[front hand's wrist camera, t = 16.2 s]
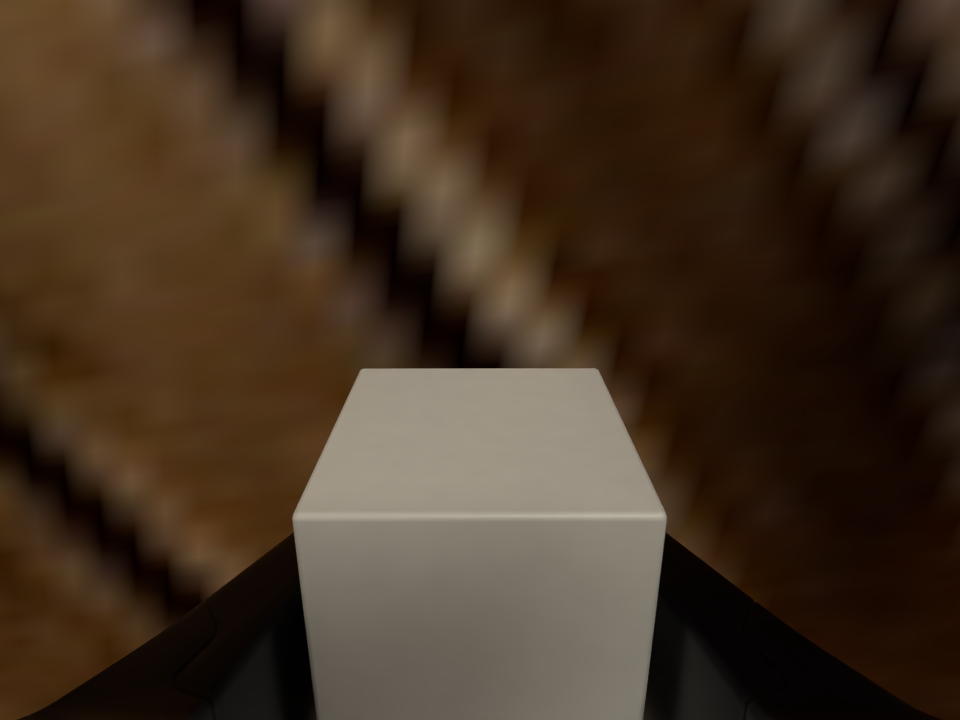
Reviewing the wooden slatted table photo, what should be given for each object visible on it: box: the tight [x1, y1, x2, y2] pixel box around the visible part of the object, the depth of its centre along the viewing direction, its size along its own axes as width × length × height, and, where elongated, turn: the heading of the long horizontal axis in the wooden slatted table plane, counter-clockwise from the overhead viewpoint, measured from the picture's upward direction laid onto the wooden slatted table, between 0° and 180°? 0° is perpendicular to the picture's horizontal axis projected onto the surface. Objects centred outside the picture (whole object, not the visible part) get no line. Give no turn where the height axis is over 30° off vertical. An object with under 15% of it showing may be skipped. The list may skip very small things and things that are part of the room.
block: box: [292, 368, 667, 720], centre depth 10 cm, size 4×5×5 cm
